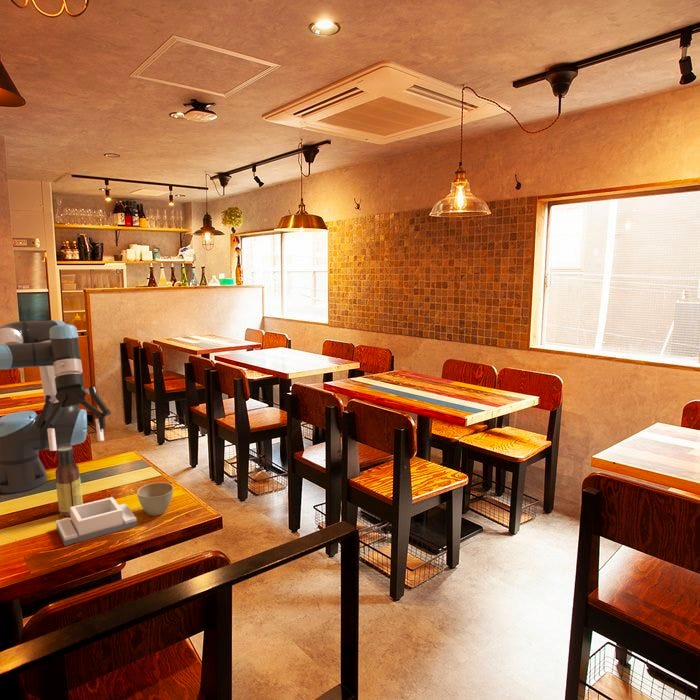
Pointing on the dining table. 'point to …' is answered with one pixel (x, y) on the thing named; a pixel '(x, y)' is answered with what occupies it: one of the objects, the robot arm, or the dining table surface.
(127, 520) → the caddy
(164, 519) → the dining table surface
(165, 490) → the flower pot
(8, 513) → the dining table surface
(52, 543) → the dining table surface
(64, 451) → the sauce bottle
